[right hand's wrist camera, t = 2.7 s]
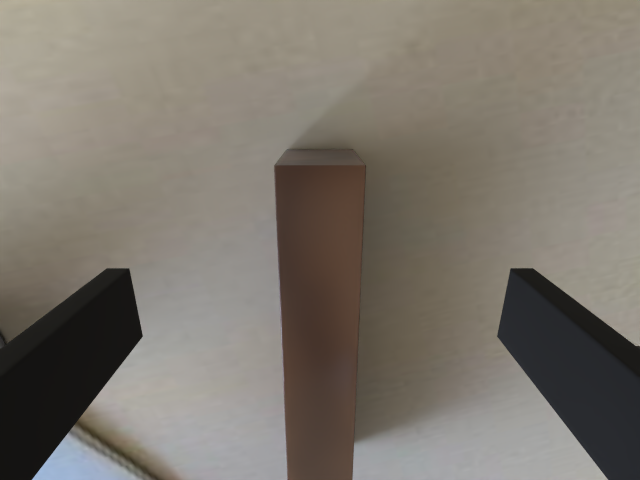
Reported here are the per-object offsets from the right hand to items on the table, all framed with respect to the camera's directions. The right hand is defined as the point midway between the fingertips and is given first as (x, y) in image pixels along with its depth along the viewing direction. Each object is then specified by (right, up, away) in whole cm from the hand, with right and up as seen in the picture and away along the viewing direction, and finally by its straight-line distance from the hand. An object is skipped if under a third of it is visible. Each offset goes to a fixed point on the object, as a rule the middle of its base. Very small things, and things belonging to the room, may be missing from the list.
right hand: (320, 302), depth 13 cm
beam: (0, -5, +20) cm, 20 cm away
